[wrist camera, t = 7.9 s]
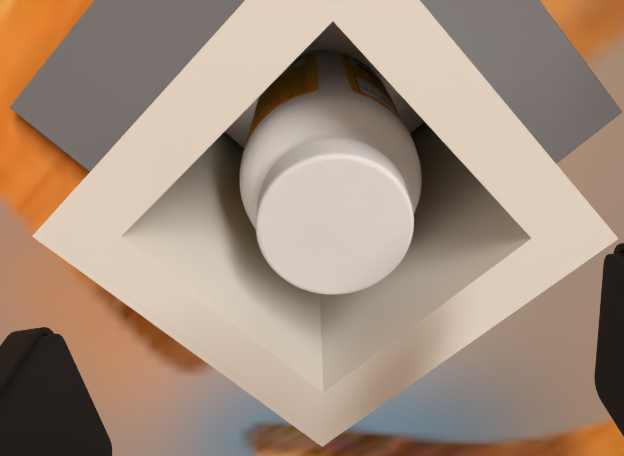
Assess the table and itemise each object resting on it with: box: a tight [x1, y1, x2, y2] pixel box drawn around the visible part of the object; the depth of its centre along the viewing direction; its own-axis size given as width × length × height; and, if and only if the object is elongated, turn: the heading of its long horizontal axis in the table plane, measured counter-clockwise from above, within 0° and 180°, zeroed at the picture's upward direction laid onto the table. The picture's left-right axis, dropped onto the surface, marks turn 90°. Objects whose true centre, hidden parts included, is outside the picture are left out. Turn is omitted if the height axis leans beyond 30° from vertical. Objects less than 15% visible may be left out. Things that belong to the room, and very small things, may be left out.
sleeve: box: [32, 0, 618, 446], centre depth 19 cm, size 10×10×11 cm
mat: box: [10, 0, 622, 172], centre depth 24 cm, size 18×18×1 cm
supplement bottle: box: [240, 51, 422, 295], centre depth 18 cm, size 5×5×10 cm
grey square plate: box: [225, 22, 424, 149], centre depth 23 cm, size 6×6×1 cm
